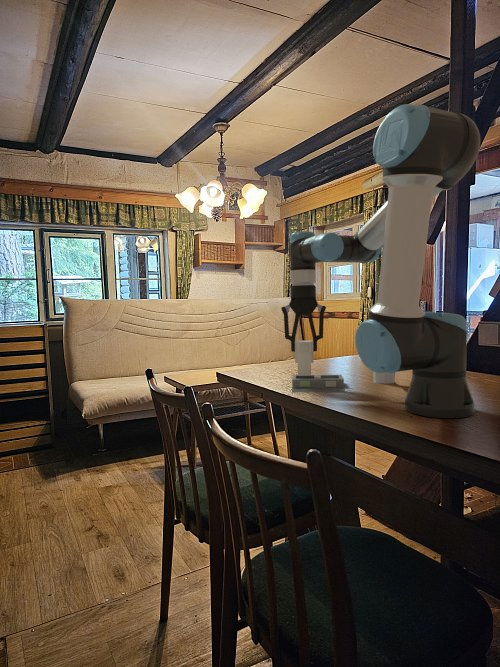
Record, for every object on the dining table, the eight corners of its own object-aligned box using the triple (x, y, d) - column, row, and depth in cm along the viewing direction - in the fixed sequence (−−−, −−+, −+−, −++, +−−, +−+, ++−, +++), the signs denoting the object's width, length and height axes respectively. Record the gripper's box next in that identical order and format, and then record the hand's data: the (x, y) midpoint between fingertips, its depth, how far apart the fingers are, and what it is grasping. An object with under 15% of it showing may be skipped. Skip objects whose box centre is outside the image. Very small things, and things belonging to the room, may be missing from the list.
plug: (311, 375, 130) (310, 342, 129) (297, 375, 130) (297, 342, 129) (311, 372, 134) (310, 340, 133) (298, 372, 135) (297, 340, 134)
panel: (345, 395, 121) (345, 383, 121) (291, 395, 123) (291, 383, 123) (339, 382, 141) (339, 371, 141) (293, 382, 143) (293, 371, 143)
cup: (394, 382, 138) (394, 344, 137) (400, 387, 130) (400, 347, 129) (368, 382, 139) (368, 345, 138) (373, 387, 131) (372, 348, 130)
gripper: (331, 284, 133) (332, 360, 135) (275, 286, 135) (277, 360, 137) (332, 283, 125) (333, 364, 127) (273, 285, 127) (275, 364, 129)
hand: (304, 362), depth 132 cm, fingers closed on plug, 4 cm apart
